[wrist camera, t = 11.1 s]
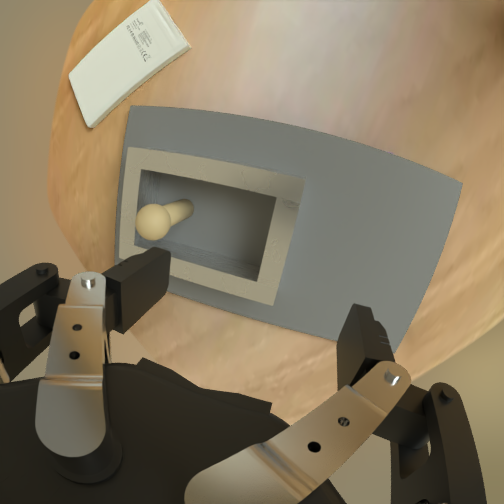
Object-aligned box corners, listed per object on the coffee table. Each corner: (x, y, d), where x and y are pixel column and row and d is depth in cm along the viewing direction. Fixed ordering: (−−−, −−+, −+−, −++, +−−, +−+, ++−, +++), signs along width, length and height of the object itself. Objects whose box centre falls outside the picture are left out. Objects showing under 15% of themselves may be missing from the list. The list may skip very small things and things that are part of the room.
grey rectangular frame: (306, 177, 20) (305, 179, 17) (278, 288, 23) (272, 305, 20) (148, 147, 21) (128, 146, 19) (138, 246, 25) (119, 257, 22)
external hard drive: (77, 75, 22) (161, 1, 18) (97, 128, 24) (194, 50, 20) (67, 73, 21) (153, -5, 17) (87, 127, 22) (186, 44, 18)
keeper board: (456, 181, 18) (506, 194, 11) (392, 345, 24) (408, 400, 17) (138, 107, 22) (82, 97, 15) (121, 267, 27) (74, 298, 20)
